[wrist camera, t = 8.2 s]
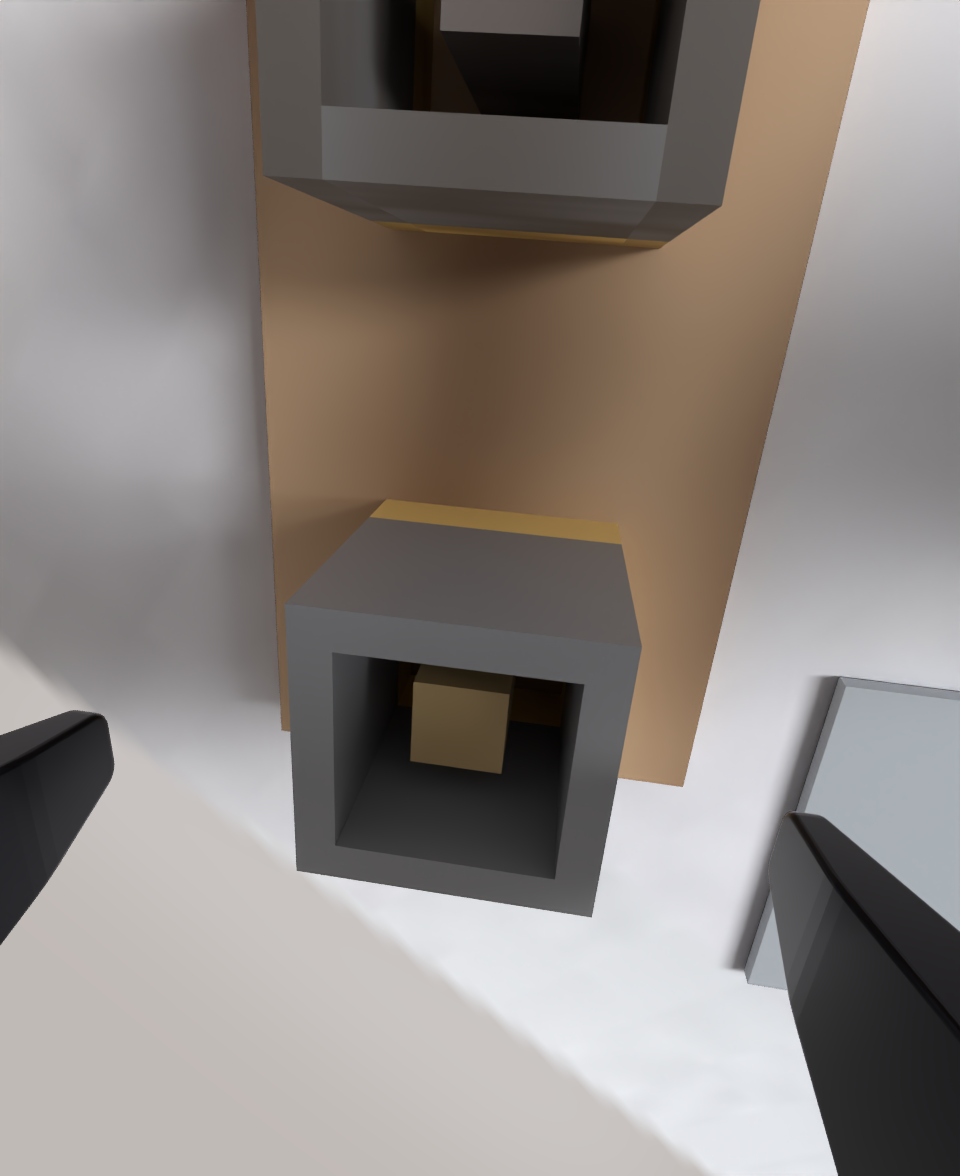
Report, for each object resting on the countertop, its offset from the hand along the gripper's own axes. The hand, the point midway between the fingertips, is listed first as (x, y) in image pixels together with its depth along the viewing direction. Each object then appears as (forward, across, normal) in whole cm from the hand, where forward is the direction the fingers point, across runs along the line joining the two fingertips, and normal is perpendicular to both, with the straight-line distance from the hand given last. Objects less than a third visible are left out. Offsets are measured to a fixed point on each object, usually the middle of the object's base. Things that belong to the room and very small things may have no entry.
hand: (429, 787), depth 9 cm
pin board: (+6, 0, -5) cm, 8 cm away
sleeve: (+5, 0, 0) cm, 5 cm away
